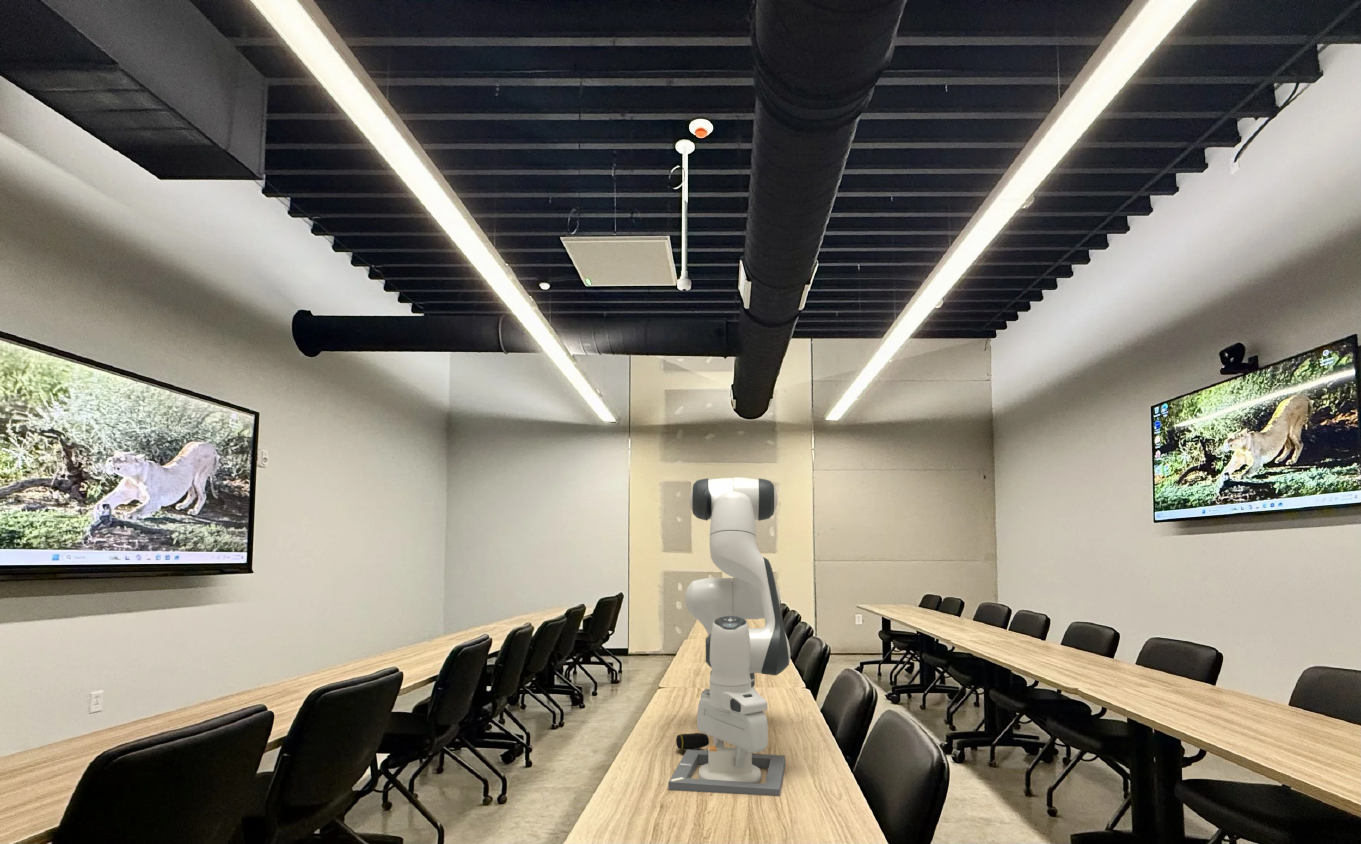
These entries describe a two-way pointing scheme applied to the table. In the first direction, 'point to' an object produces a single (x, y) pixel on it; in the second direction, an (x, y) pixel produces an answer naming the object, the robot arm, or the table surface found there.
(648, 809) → the table surface
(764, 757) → the grey square frame
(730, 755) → the dial knob
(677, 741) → the tape measure
